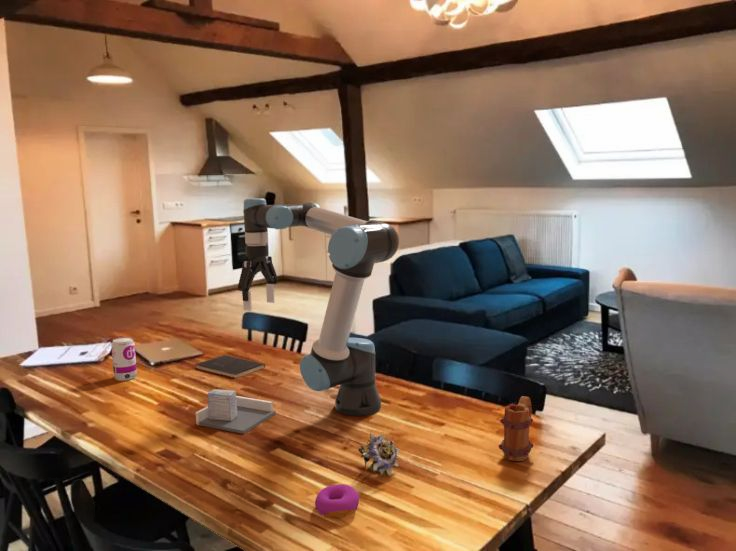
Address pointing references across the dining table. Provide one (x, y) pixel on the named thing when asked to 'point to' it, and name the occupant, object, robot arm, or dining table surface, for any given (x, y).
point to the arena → (240, 415)
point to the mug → (517, 430)
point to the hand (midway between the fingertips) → (259, 306)
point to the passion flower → (380, 454)
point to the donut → (337, 500)
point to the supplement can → (124, 359)
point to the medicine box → (222, 405)
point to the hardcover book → (230, 366)
